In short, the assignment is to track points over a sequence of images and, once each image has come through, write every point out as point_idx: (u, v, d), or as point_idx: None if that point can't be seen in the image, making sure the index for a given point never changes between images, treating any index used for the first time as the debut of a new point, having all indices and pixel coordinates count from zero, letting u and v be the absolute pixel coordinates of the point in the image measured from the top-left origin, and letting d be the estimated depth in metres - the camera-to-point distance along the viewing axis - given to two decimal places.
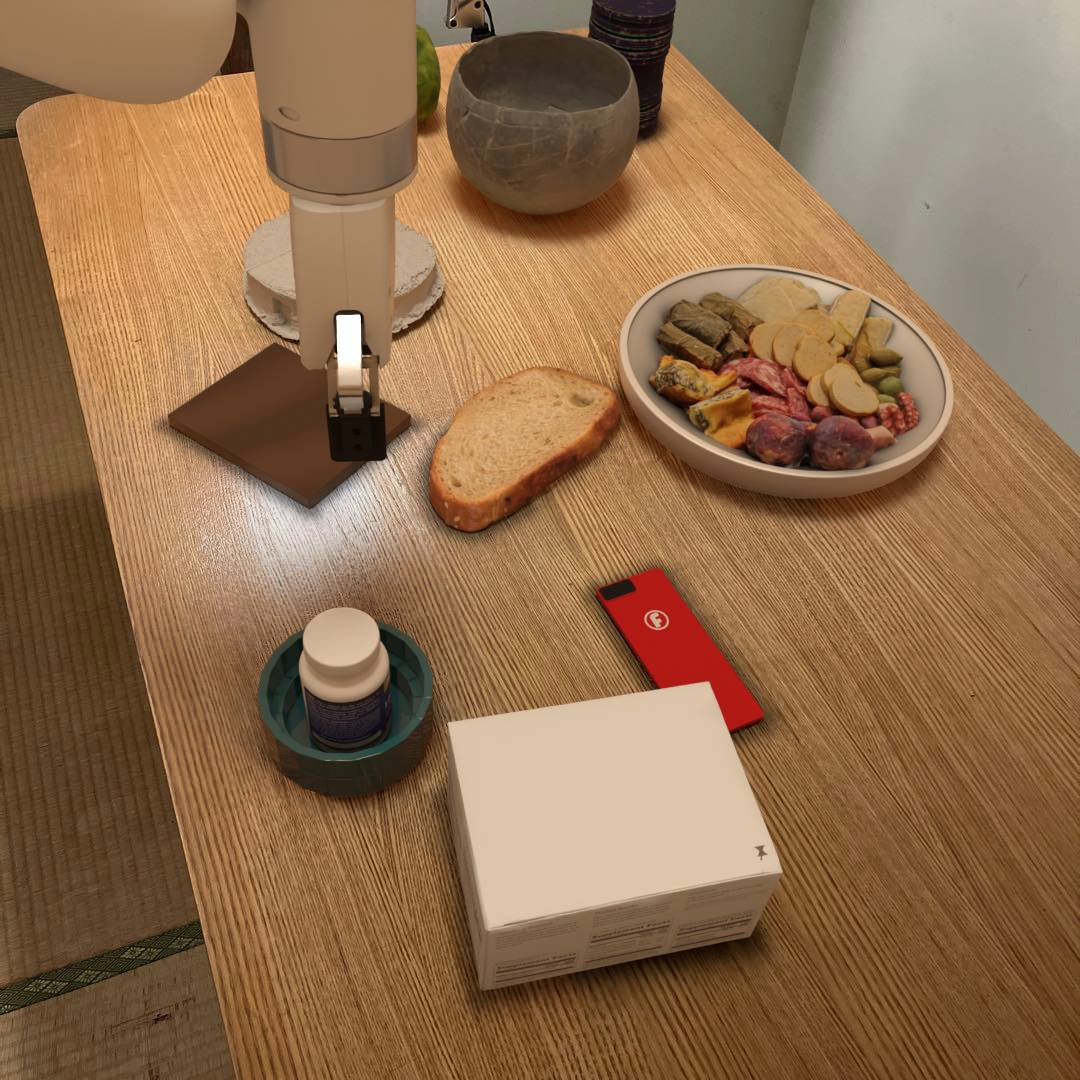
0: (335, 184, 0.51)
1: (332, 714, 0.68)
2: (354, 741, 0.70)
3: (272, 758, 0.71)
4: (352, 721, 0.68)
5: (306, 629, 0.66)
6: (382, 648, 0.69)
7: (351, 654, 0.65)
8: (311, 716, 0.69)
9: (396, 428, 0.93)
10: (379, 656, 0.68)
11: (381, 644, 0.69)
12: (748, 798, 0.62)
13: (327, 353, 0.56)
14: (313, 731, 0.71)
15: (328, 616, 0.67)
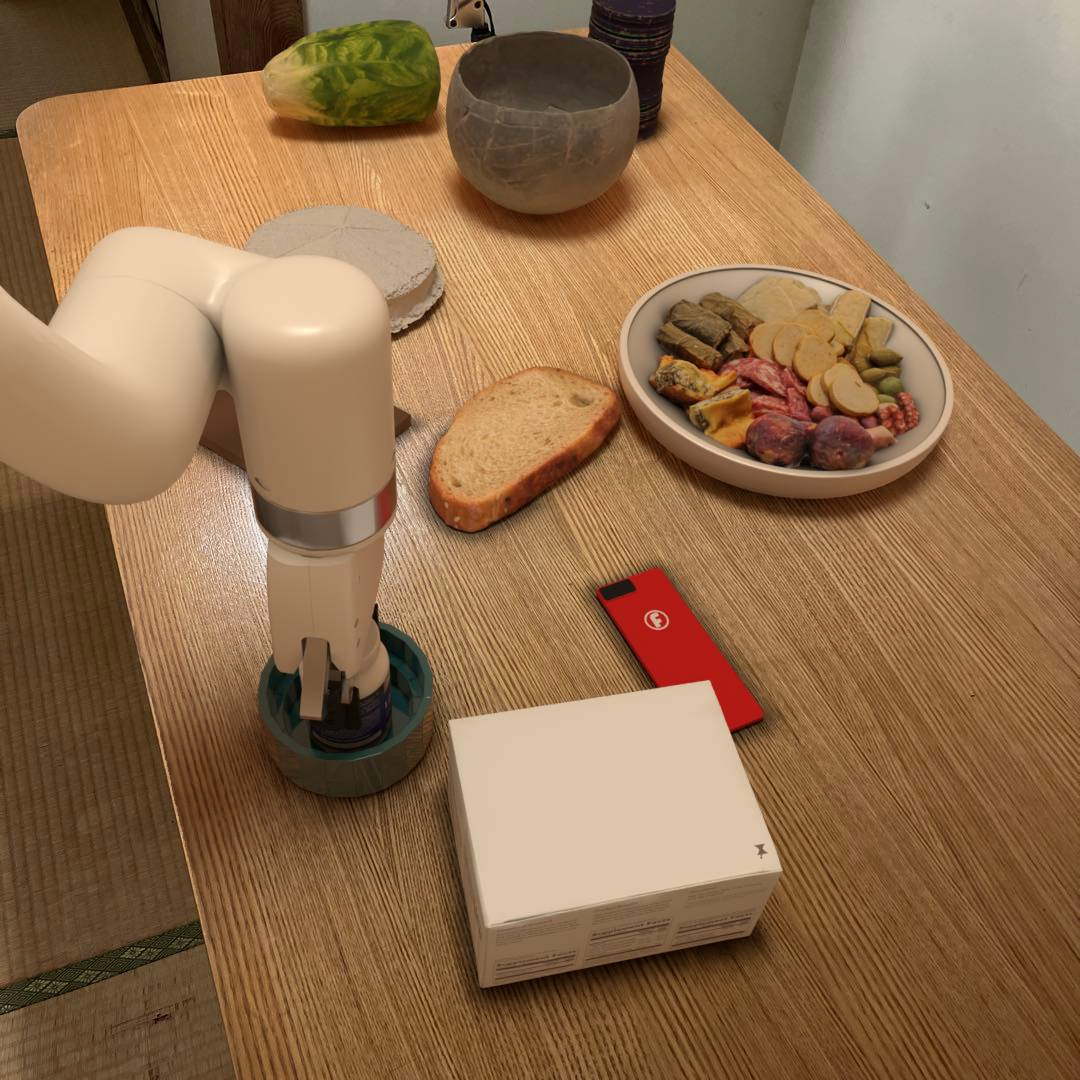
0: (305, 542, 0.54)
1: None
2: (354, 741, 0.70)
3: (272, 758, 0.71)
4: None
5: None
6: (382, 649, 0.68)
7: None
8: None
9: (396, 428, 0.93)
10: (379, 656, 0.68)
11: (381, 644, 0.69)
12: (748, 797, 0.62)
13: (296, 665, 0.60)
14: (313, 731, 0.71)
15: None
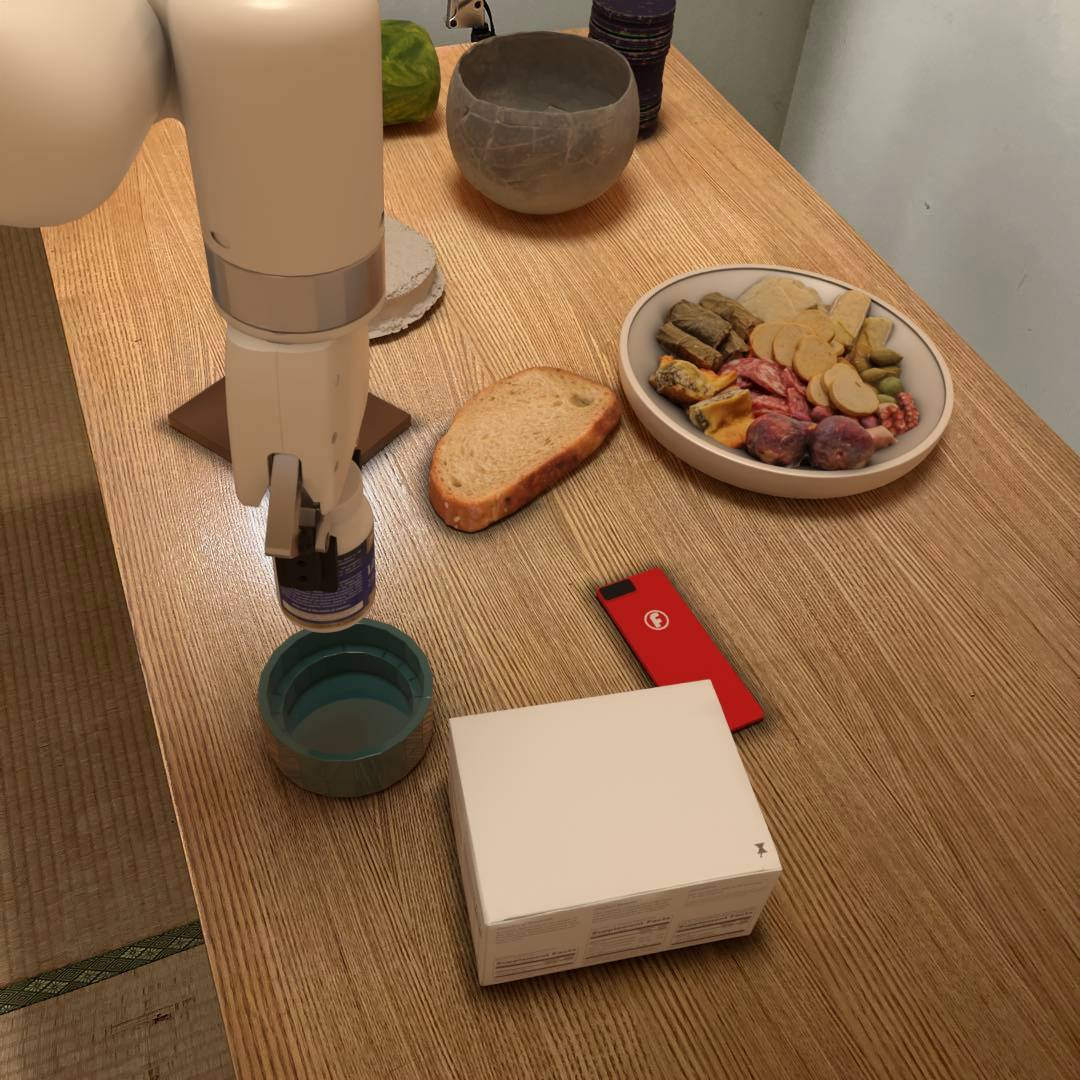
0: (272, 321, 0.44)
1: None
2: (331, 612, 0.60)
3: (272, 758, 0.71)
4: None
5: None
6: (365, 501, 0.59)
7: None
8: None
9: (396, 428, 0.93)
10: (361, 508, 0.58)
11: (364, 496, 0.59)
12: (748, 796, 0.62)
13: (261, 493, 0.50)
14: (283, 600, 0.61)
15: None
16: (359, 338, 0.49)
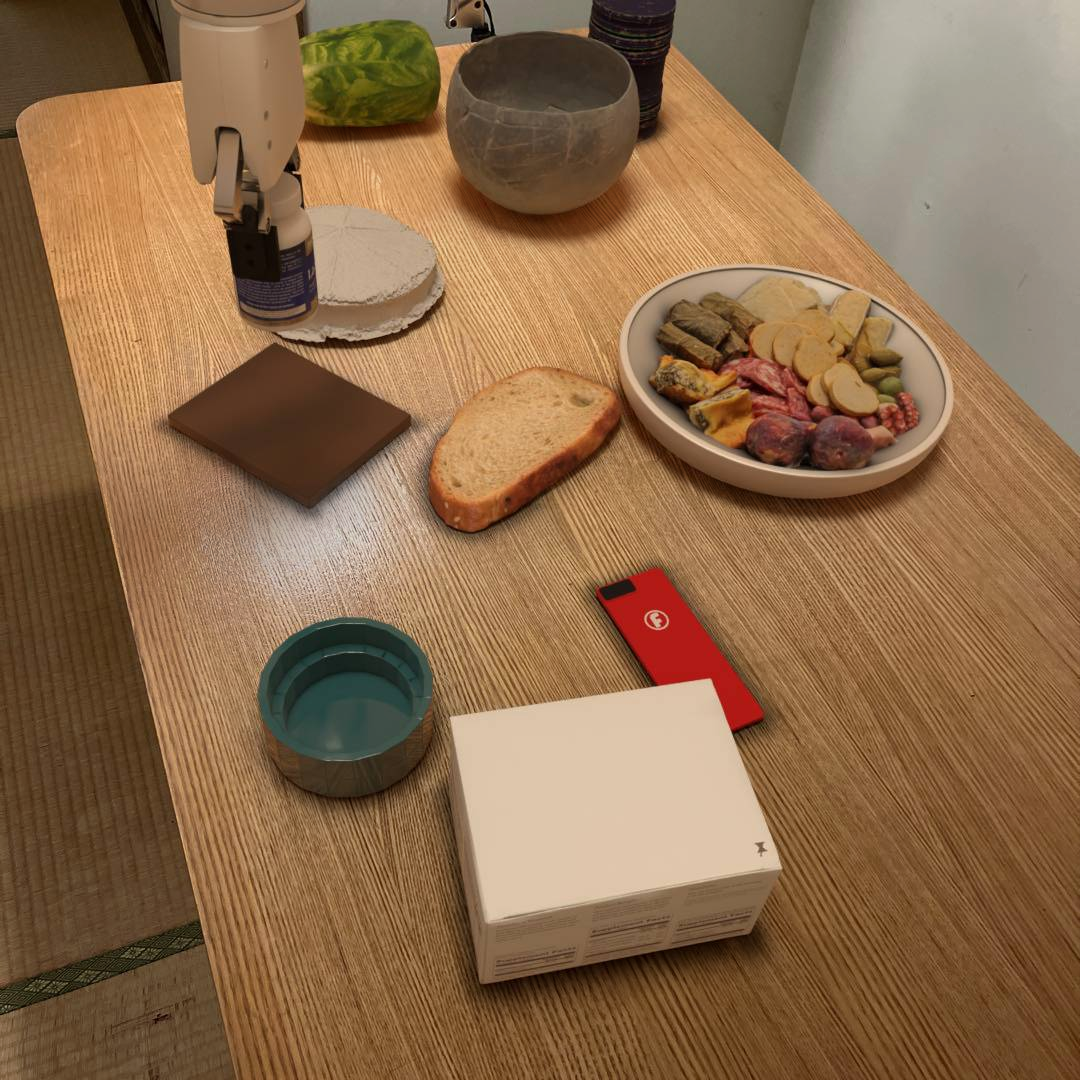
0: (213, 5, 0.58)
1: None
2: (278, 309, 0.74)
3: (272, 758, 0.71)
4: None
5: None
6: (305, 213, 0.73)
7: (271, 197, 0.69)
8: (238, 280, 0.73)
9: (396, 428, 0.93)
10: (301, 216, 0.72)
11: (304, 211, 0.73)
12: (748, 795, 0.62)
13: (212, 168, 0.64)
14: (241, 302, 0.75)
15: None
16: (287, 44, 0.63)
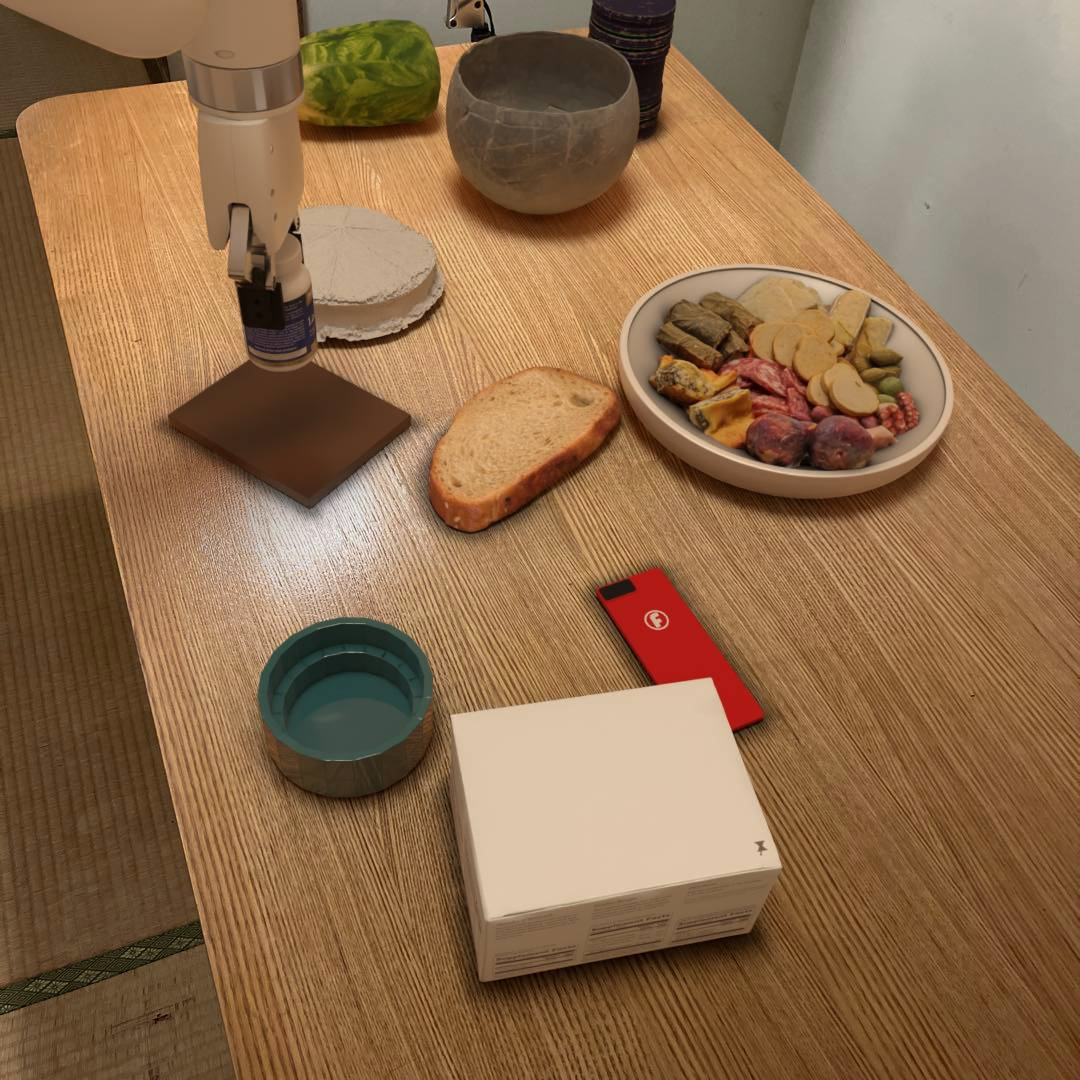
0: (226, 103, 0.68)
1: None
2: (283, 352, 0.84)
3: (272, 758, 0.71)
4: None
5: None
6: (305, 268, 0.82)
7: (276, 257, 0.79)
8: (246, 328, 0.83)
9: (396, 428, 0.93)
10: (301, 271, 0.82)
11: (304, 266, 0.83)
12: (749, 794, 0.62)
13: (225, 236, 0.74)
14: (249, 346, 0.85)
15: None
16: (289, 129, 0.73)
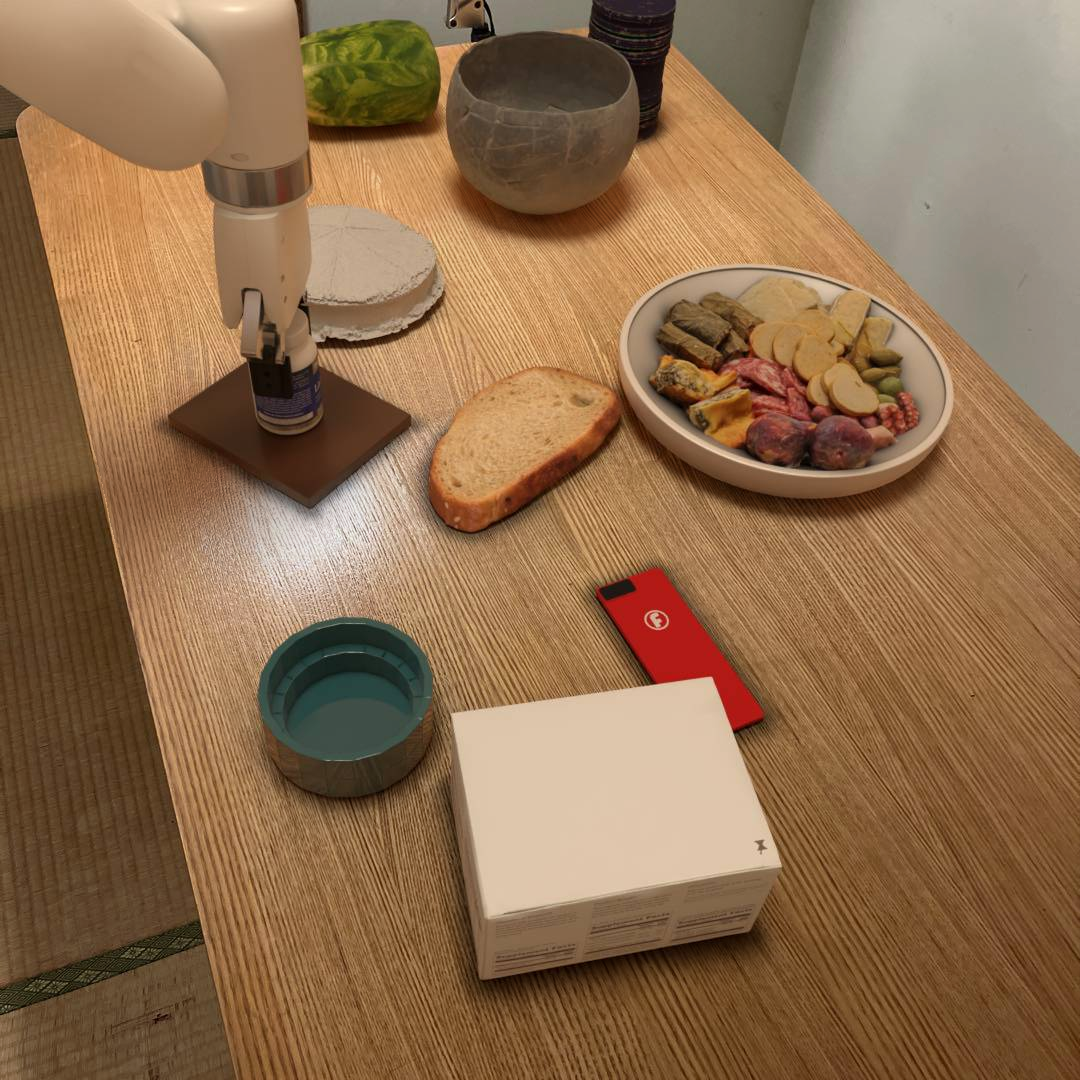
0: (240, 199, 0.73)
1: None
2: (290, 417, 0.89)
3: (272, 758, 0.71)
4: None
5: None
6: (311, 339, 0.87)
7: (285, 331, 0.84)
8: (256, 395, 0.88)
9: (396, 428, 0.93)
10: (308, 343, 0.87)
11: (311, 337, 0.88)
12: (749, 793, 0.62)
13: (238, 317, 0.79)
14: (259, 411, 0.89)
15: None
16: (298, 217, 0.78)
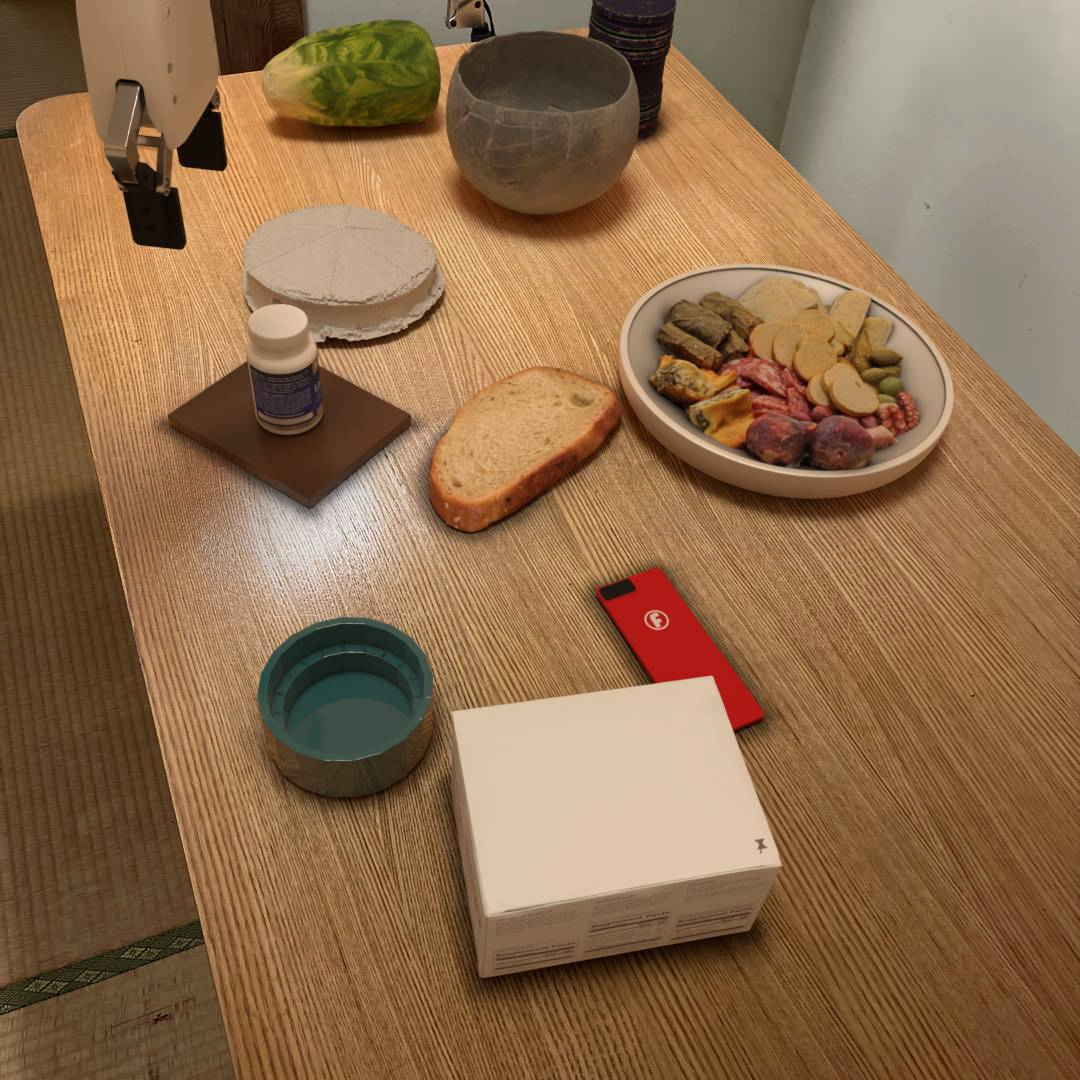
0: None
1: (271, 386, 0.86)
2: (290, 417, 0.89)
3: (272, 758, 0.71)
4: (287, 395, 0.87)
5: (250, 316, 0.85)
6: (311, 339, 0.87)
7: (284, 331, 0.84)
8: (256, 395, 0.88)
9: (396, 428, 0.93)
10: (308, 343, 0.87)
11: (311, 337, 0.88)
12: (749, 792, 0.62)
13: None
14: (259, 411, 0.89)
15: (268, 309, 0.86)
16: None
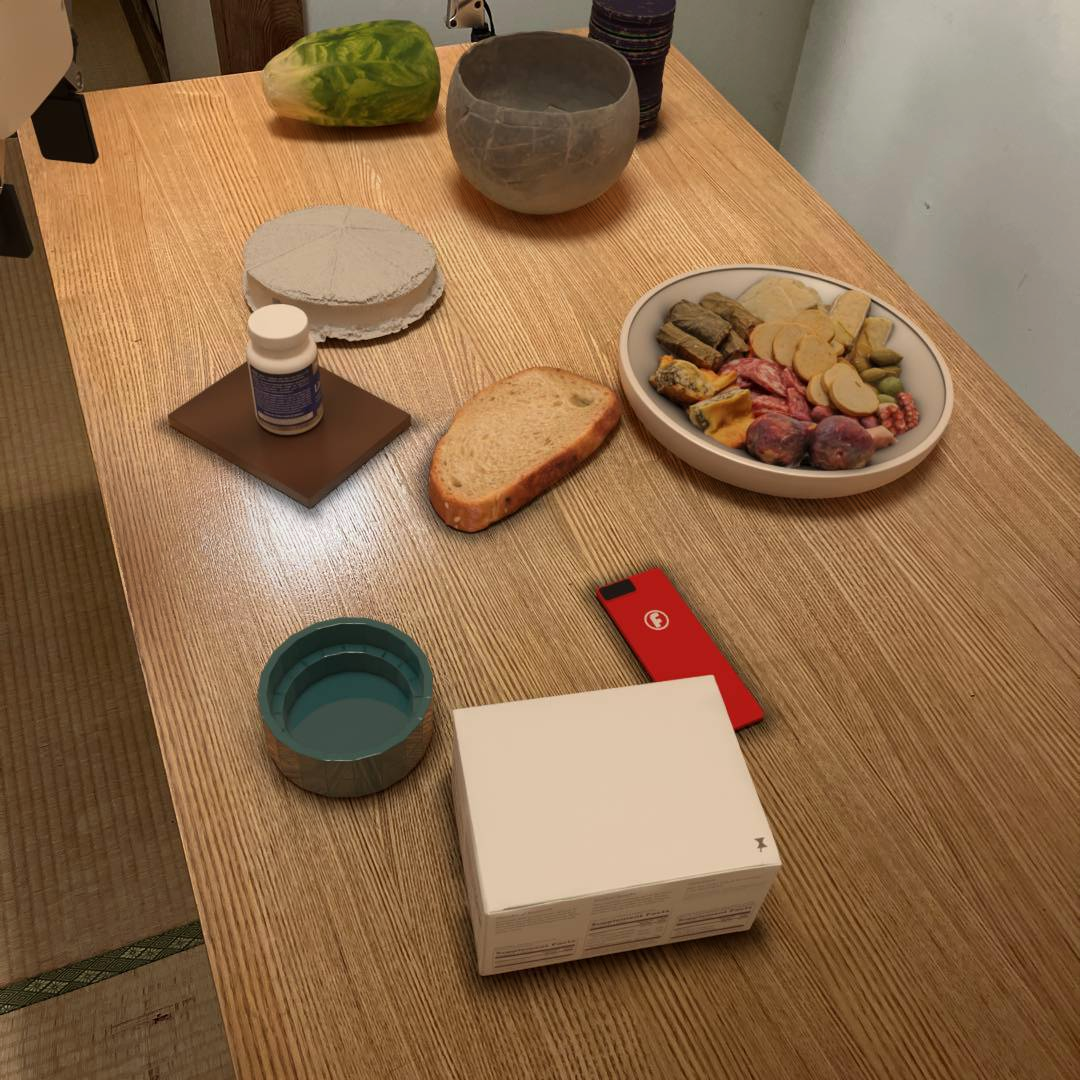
0: None
1: (271, 386, 0.86)
2: (290, 417, 0.89)
3: (272, 758, 0.71)
4: (287, 395, 0.87)
5: (250, 316, 0.85)
6: (311, 339, 0.87)
7: (284, 331, 0.84)
8: (256, 395, 0.88)
9: (396, 428, 0.93)
10: (308, 343, 0.87)
11: (311, 337, 0.88)
12: (749, 791, 0.62)
13: None
14: (259, 411, 0.89)
15: (268, 309, 0.86)
16: None
